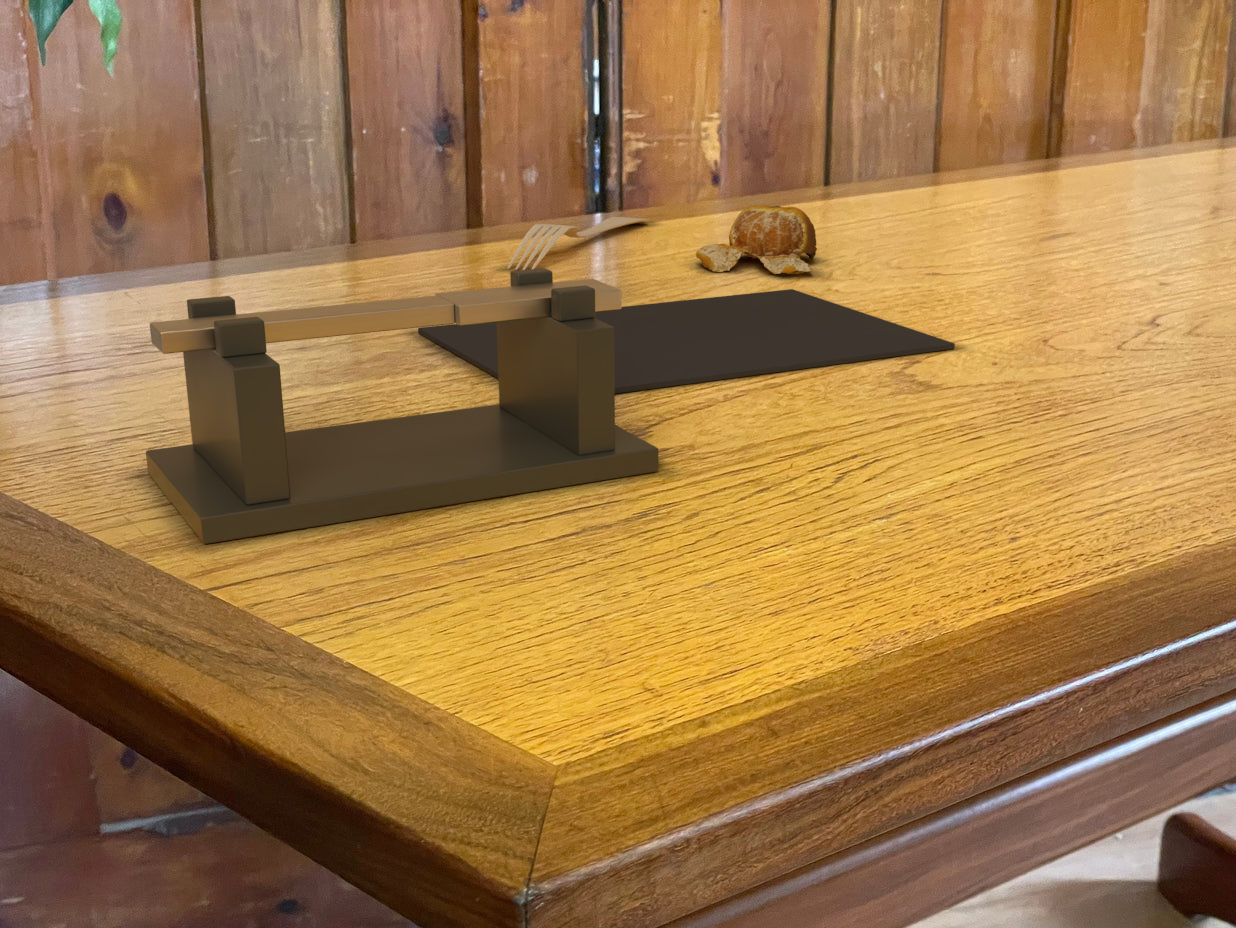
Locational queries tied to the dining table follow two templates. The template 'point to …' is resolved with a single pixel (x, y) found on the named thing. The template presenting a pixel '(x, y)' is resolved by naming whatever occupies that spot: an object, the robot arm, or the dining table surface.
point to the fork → (566, 230)
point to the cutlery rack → (395, 431)
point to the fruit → (765, 240)
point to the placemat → (720, 338)
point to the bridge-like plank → (385, 315)
